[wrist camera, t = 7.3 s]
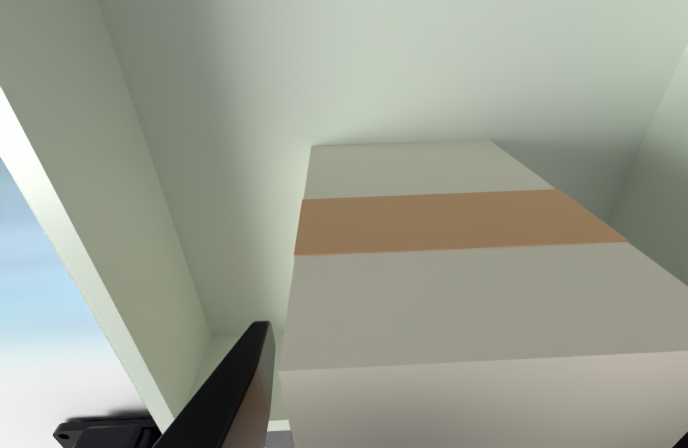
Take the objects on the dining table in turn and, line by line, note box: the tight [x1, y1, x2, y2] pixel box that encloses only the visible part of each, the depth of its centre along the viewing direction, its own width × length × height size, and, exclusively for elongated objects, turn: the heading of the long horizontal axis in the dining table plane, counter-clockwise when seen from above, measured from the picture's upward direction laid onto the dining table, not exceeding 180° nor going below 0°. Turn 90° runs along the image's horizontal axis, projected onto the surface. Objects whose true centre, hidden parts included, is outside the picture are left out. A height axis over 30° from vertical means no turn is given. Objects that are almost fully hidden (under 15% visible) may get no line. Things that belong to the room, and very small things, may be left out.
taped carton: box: [278, 139, 688, 448], centre depth 8 cm, size 7×5×7 cm
